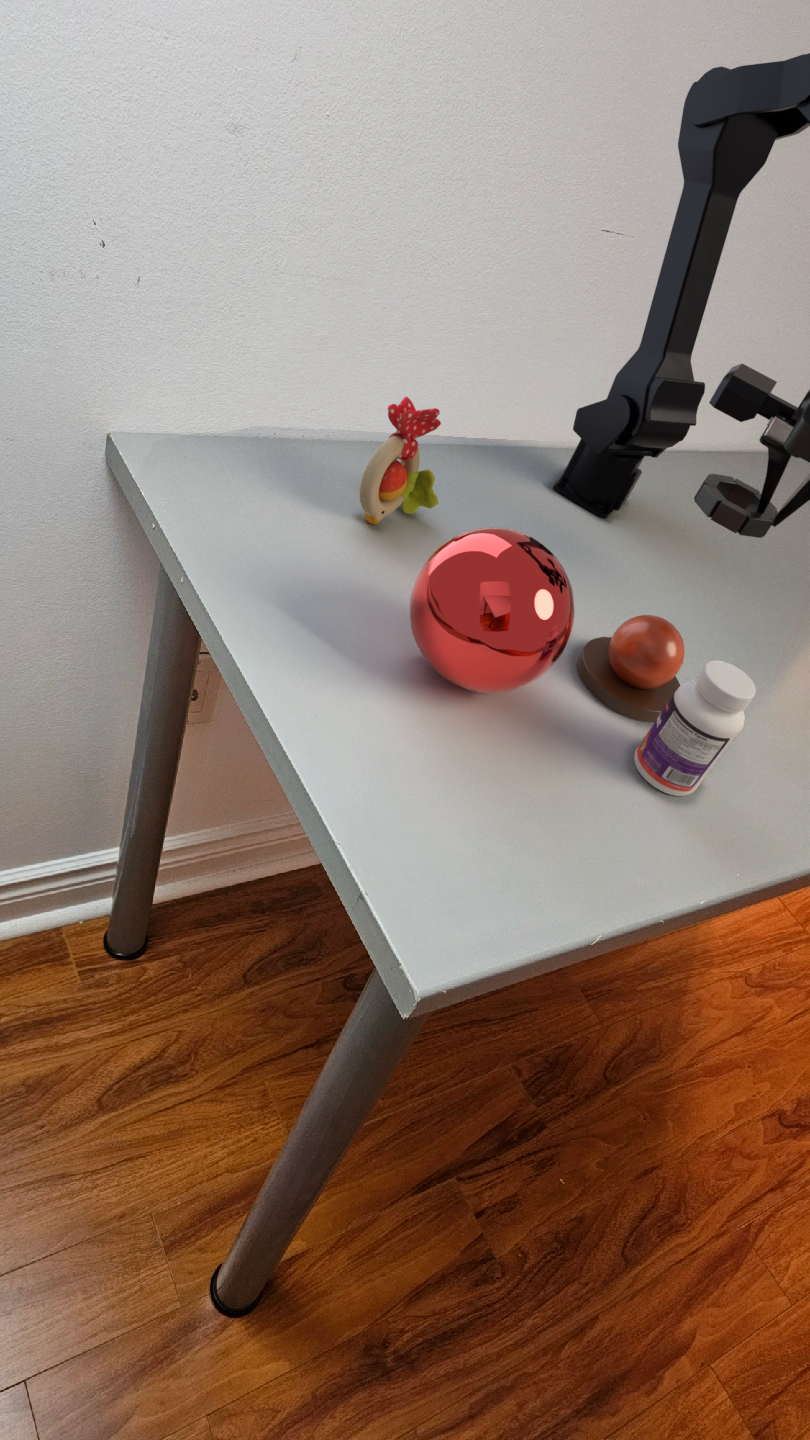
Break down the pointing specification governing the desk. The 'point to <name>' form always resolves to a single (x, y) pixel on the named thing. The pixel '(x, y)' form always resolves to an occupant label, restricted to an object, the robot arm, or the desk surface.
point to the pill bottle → (695, 729)
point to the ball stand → (634, 667)
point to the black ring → (734, 505)
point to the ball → (492, 610)
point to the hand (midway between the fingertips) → (765, 520)
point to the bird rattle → (399, 466)
